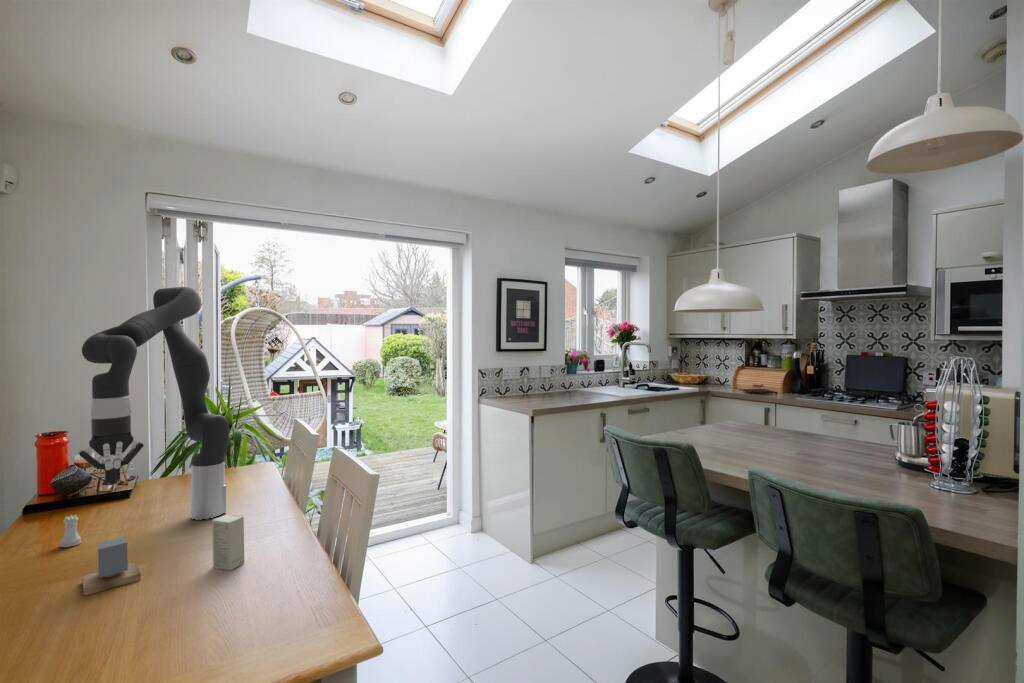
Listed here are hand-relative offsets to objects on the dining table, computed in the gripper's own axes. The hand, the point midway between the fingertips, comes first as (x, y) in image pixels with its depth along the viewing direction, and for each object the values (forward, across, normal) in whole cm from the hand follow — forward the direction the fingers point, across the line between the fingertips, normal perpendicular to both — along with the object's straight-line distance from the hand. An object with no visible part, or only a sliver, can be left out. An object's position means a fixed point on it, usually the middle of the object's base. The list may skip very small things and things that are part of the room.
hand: (112, 483), depth 118 cm
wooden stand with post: (+21, +1, +9) cm, 23 cm away
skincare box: (+22, -20, +19) cm, 35 cm away
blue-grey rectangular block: (+19, +1, +9) cm, 21 cm away
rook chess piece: (+22, +7, -26) cm, 34 cm away
